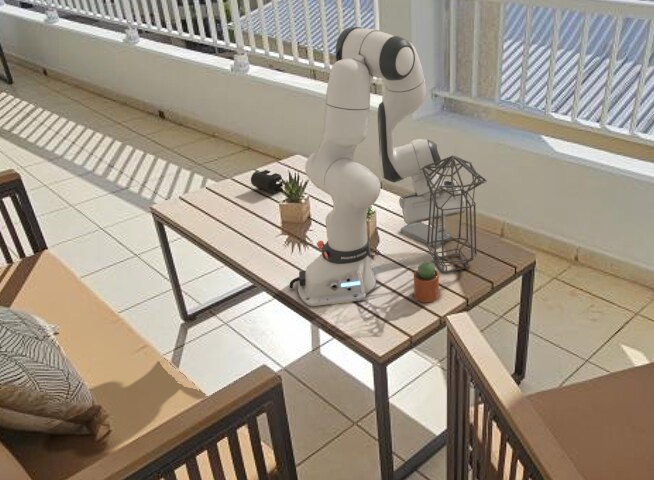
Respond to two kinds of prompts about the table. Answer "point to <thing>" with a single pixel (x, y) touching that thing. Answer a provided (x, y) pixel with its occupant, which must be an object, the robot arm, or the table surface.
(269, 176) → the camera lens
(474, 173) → the geometric lantern
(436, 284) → the succulent pot
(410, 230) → the phone
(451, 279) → the table surface
